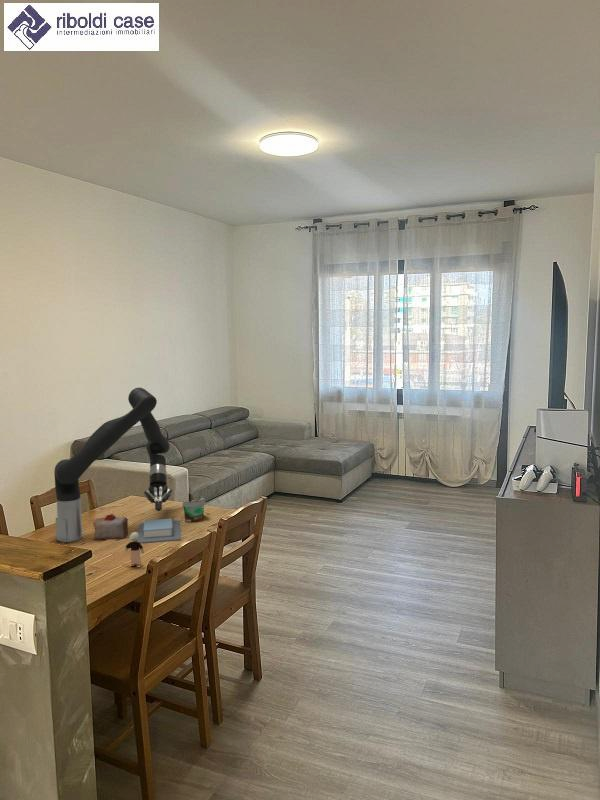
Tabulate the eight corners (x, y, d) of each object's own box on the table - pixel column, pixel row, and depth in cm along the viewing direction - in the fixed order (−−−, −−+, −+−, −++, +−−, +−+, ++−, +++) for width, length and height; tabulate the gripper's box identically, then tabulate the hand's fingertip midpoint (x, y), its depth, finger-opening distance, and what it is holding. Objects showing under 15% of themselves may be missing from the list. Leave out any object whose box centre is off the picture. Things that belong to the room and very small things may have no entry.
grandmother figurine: (147, 563, 218) (146, 530, 217) (144, 567, 215) (142, 534, 213) (126, 563, 219) (125, 530, 217) (123, 567, 215) (121, 533, 214)
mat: (181, 540, 243) (180, 538, 243) (135, 543, 240) (135, 542, 240) (180, 521, 269) (180, 520, 269) (139, 524, 265) (139, 523, 265)
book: (144, 520, 258) (143, 530, 244) (172, 518, 260) (172, 528, 246) (145, 528, 258) (143, 538, 244) (173, 526, 260) (173, 536, 247)
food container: (192, 525, 262) (192, 503, 261) (182, 523, 266) (182, 501, 265) (211, 518, 272) (211, 497, 271) (201, 516, 276) (201, 495, 275)
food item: (91, 541, 244) (90, 517, 243) (98, 534, 252) (97, 512, 251) (124, 540, 244) (123, 517, 243) (130, 534, 252) (129, 511, 251)
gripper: (173, 479, 273) (174, 513, 262) (143, 481, 270) (143, 515, 259) (172, 471, 267) (173, 505, 256) (142, 472, 264) (142, 507, 253)
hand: (158, 510), depth 258 cm, fingers closed
